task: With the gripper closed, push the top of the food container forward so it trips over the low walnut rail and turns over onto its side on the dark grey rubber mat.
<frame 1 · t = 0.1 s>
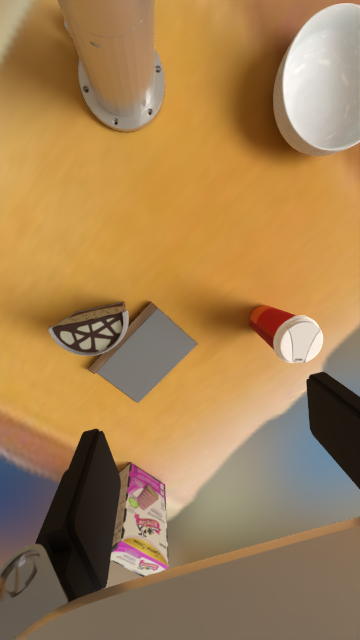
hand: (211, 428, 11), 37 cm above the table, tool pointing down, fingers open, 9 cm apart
paper cup: (262, 318, 50), on the table
candy bar box: (141, 477, 58), on the table
cereal bowl: (308, 110, 41), on the table
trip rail: (122, 337, 48), on the table
food container: (104, 321, 47), on the table
mat: (147, 357, 50), on the table
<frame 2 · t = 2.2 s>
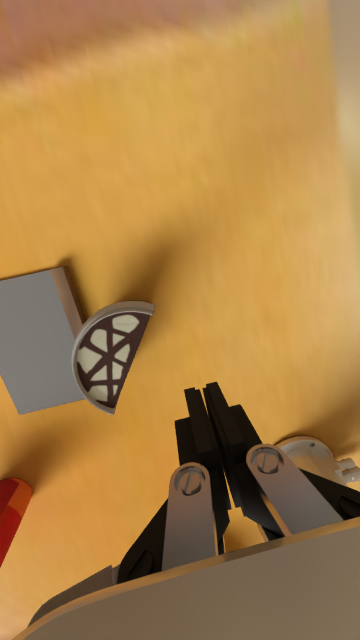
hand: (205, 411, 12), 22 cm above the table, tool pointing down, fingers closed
paper cup: (14, 490, 38), on the table
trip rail: (84, 334, 32), on the table
food container: (117, 326, 33), on the table
mat: (35, 346, 32), on the table
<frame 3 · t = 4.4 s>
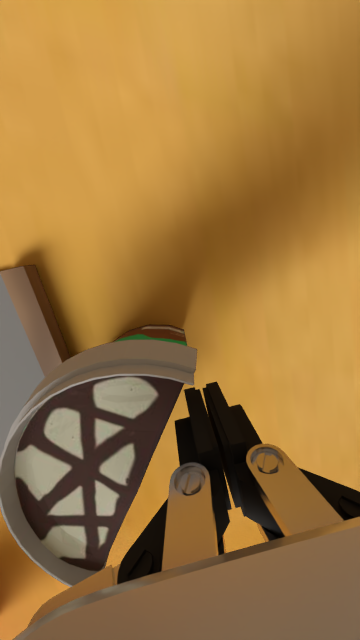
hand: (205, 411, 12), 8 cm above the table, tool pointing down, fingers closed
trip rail: (69, 381, 19), on the table
food container: (125, 367, 19), on the table
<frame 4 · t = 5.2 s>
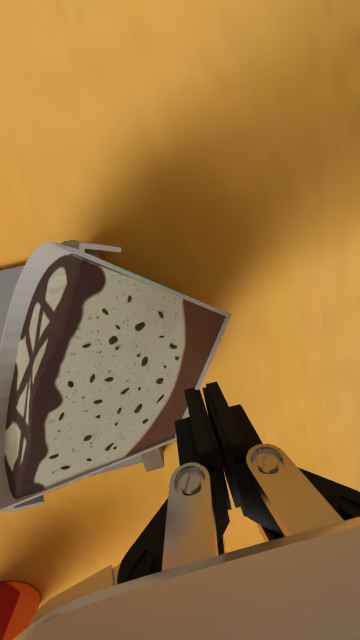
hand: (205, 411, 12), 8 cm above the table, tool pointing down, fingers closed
paper cup: (13, 596, 25), on the table
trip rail: (127, 366, 19), on the table
food container: (176, 357, 18), point 1 cm above the table
mat: (45, 386, 19), on the table
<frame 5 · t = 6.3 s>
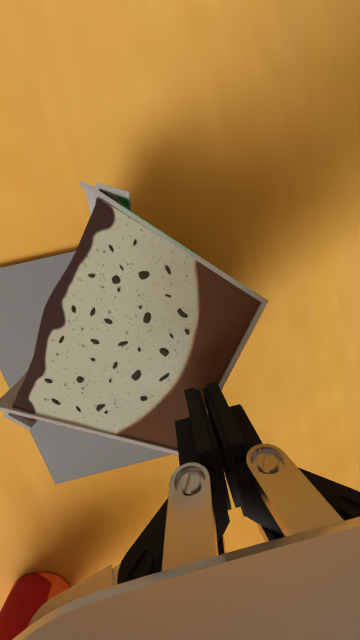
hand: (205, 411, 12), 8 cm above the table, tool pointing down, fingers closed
paper cup: (42, 588, 25), on the table
food container: (215, 363, 16), point 4 cm above the table, touching mat, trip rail
mat: (86, 375, 19), on the table
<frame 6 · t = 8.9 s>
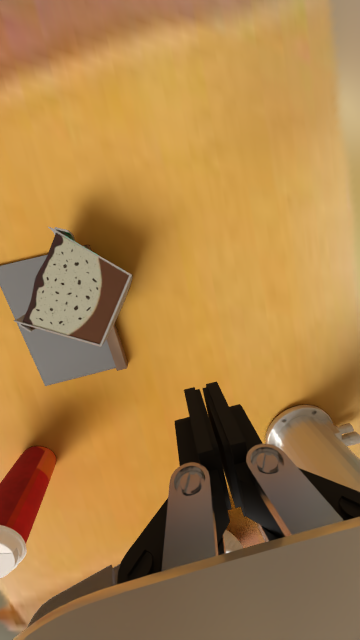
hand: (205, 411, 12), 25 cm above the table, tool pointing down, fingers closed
paper cup: (39, 458, 41), on the table
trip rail: (105, 310, 35), on the table
food container: (121, 308, 31), point 4 cm above the table, touching mat, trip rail
mat: (60, 321, 35), on the table
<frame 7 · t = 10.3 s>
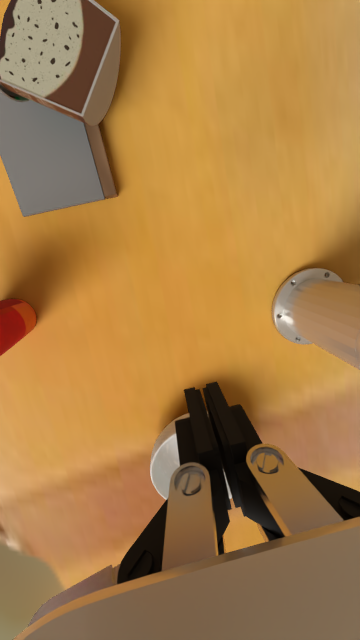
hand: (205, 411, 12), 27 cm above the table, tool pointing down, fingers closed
paper cup: (18, 316, 36), on the table
cereal bowl: (196, 436, 46), on the table
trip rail: (91, 120, 31), on the table
food container: (108, 93, 27), point 4 cm above the table, touching mat, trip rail
mat: (40, 131, 30), on the table
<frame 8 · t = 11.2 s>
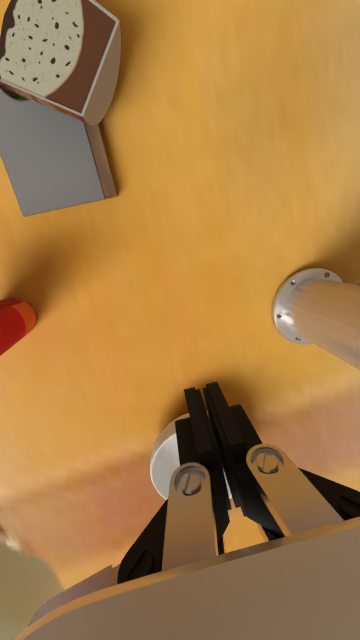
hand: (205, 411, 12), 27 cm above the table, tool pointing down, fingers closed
paper cup: (18, 316, 36), on the table
cereal bowl: (196, 436, 46), on the table
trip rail: (91, 120, 31), on the table
food container: (108, 93, 27), point 4 cm above the table, touching mat, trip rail
mat: (40, 130, 30), on the table
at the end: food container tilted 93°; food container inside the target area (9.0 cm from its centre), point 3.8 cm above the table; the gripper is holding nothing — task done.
